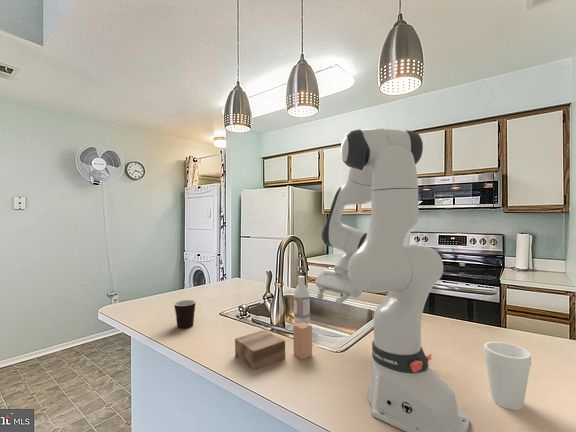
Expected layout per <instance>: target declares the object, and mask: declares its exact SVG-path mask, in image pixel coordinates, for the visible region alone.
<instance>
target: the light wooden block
mask: <svg viewBox="0 0 576 432" xmlns="http://www.w3.org/2000/svg"><path fill="white" fill-rule="evenodd" d="M292 327H293V336H292V337H293V355H294V356H295V357H297V358H299V359H300V360H304V359H306V358H308V357H311V356H313V328H312V327H313V325H311V324H309V323H305V322H301V323H295V324H293V326H292Z"/></svg>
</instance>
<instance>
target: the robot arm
mask: <svg viewBox="0 0 576 432" xmlns="http://www.w3.org/2000/svg"><path fill="white" fill-rule="evenodd" d="M423 150H424V144H423V139H422V138H421V135H420V134H419V133H418V132H416V131H413V130H408V129H403V130H400V129H388V128H387V129H385V128H370V129H369V128H368V129H361V128H358V129H353V130H350V131H347V133H346V134H345V135H344V137H343V139H342V142H341V147H340V153H341V154H340V155H341V157H342V158H341V159H342V162H343V163H344V164H345V165H346V166H347V167H349V171H348V177H347V180H346V183H345V184H343V185H340V186H339V187H338V189H337V191H336V192H335V195H334V197H333V200H332V203H331V205H330V209H329V213H328V215H327V218H326V222H325V223H324V226H323V228H322V231H321V235H320V236H321V239H322V241H323V243H324V245H326V246H328V247H331V248H333V249H334V248H335V249H337V250H339V251H341V252H343V254H342V255H341V256H340V257H339V259H338V260H337V261H336V264H335V265H334V267H327V268H324V269H323V270H322V271H321V272H320V274H319V275H318V276H317V277H316V279H315V281H314V282H315V283H314V284H315V285H316V287H318V293H317V295H316V297H317V298H318V299H319V300H322V299H323V298H324V297H325V295H324V293H325V291H329V292H332V293H336V294H339V295H341V296H340V297H337V298H336V300H335V304H336V305H338V306H342V305H343V302H346V300H348V299H349V297H351V298H355V299H357V298H359V297H360V296H361V295H362V293H363V292H367V293H377V294H378V293H379V294H380V293H387V294H386V296H385V298H384V300H383V301H382V302H381V303H380V304H379V305H378V306H377V307H376V308H375V310H374V313H373V341H372V342H371V345H372V347H371V351H372V352H371V357H372V359H373V368H372V377H371V384H370V387H369V390H368V394H367V399H368V402H369V404H370V405H371V416H372V417H374V418H376V419H378V420H380V421H382V422H385V423H386V424H389V425H391V426H393V427H395V428H397V429H400V430H402V431H404V432H469V429H470V419H469V415H468V414H467V413H466V412H464V411H463V410H461V409H459V408H458V404H457V399H456V396H455V393H454V391H453V389H452V388H451V387H450V386H449V385H448V384H446V382H445V381H444V380H443V379H442V378H441V377H440V376H439V375H438V374H437V373H436V372H435V371H434V370H433V369H432V367H431V366H430V365H429V362H430V361H431V360H432V359H433V358H432V353H430V354H428V355H426V354H425V351H424V350H423V347H422V318H423V312H424V308H425V305H426V302H427V300H428V297H429V294H430V292H431V290H432V289H433V287H434V285H435V284H437V282H438V281H439V280H440V279H441V278H442V276H443V274H444V262H443V259H442V257H441V254H439V252H438V251H436V250H435V249H434V248H432V247H430V246H424V245H419V244H404V241H405V238H406V237H407V234H408V233H409V231H410V230H411V229H412V228H414V227H416V225H417V224H418V222H419V218H420V217H419V216H420V214H419V212H420V211H419V182H418V172H417V166H416V165H417V164H418V162H420V161H421V158H422V156H423ZM368 203H371V210H370V212H371V213H370V215H371V216H370V217H371V218H370V223H369V224H370V225H369V228H368V231H367V232H365V231H364V230H361V229H358V228H355V227H352V226H350V225H347V224H345V223H343V222H342V221H341V218H342V217H343V213H344V209H345V207H346V206H350V205H364V204H368Z"/></svg>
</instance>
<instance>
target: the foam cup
mask: <svg viewBox="0 0 576 432" xmlns="http://www.w3.org/2000/svg"><path fill="white" fill-rule="evenodd" d="M483 354H484V358H485V362H486V369H487V376H488V381H489V382H488V383H489V387H490V388H489V389H490V394H491V400H492V401H493V402H494V403H495V404H496V405H498V406H500V407H502V408H505V409H507V410H511V411H512V410H513V411H519V410H522V409H523V408H524V405H525V399H526V392H527V386H528V380H529V375H530V367H531V366H532V354H531V352H530V351H529V350H527V349H525V347H522V346H519V345H516V344H512V343H508V342H503V341H495V340H494V341H487V342H485V343H483Z"/></svg>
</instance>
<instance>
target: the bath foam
mask: <svg viewBox="0 0 576 432" xmlns="http://www.w3.org/2000/svg"><path fill="white" fill-rule="evenodd" d="M305 277H306V276H305V275H298V276H297V286H296V288H295V289H294V292H293V322H294V323H295V324H298V323H301V322H305V323H307V324H309V323H310V322H311V313H310V311H311V309H310V298H311V297H310V292H309V289H308V287H307V285H306V283H305V282H306V281H305Z"/></svg>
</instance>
